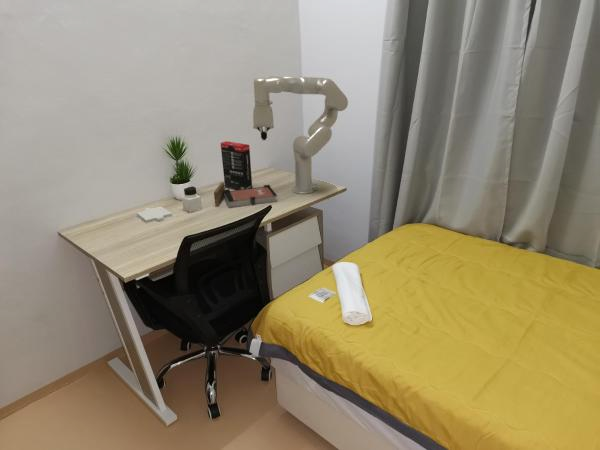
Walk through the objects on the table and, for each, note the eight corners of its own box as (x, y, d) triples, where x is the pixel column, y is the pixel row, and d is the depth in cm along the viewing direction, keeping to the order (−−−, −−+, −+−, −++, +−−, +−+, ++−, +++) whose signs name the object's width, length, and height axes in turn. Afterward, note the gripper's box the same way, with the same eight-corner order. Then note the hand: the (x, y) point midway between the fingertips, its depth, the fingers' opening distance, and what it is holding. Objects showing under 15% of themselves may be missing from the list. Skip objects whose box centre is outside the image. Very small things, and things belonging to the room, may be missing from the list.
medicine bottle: (202, 208, 209) (199, 187, 204) (190, 212, 205) (187, 190, 200) (194, 205, 214) (191, 184, 209) (183, 209, 209) (179, 187, 204)
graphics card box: (253, 189, 237) (250, 143, 226) (246, 192, 231) (242, 146, 220) (231, 184, 245) (227, 140, 234) (223, 187, 240) (219, 142, 229)
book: (229, 209, 209) (228, 200, 207) (224, 198, 224) (223, 190, 222) (277, 203, 217) (277, 194, 215) (269, 192, 232) (269, 184, 230)
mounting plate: (135, 214, 205) (134, 211, 204) (159, 208, 212) (159, 204, 211) (148, 225, 192) (147, 221, 191) (174, 218, 200) (173, 214, 199)
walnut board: (225, 195, 227) (224, 182, 224) (218, 206, 212) (216, 192, 208) (222, 195, 227) (221, 182, 224) (215, 206, 212) (213, 192, 209)
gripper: (277, 102, 207) (278, 138, 214) (249, 103, 208) (251, 138, 215) (276, 104, 200) (277, 141, 208) (246, 105, 201) (249, 141, 208)
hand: (264, 139), depth 211 cm, fingers closed
